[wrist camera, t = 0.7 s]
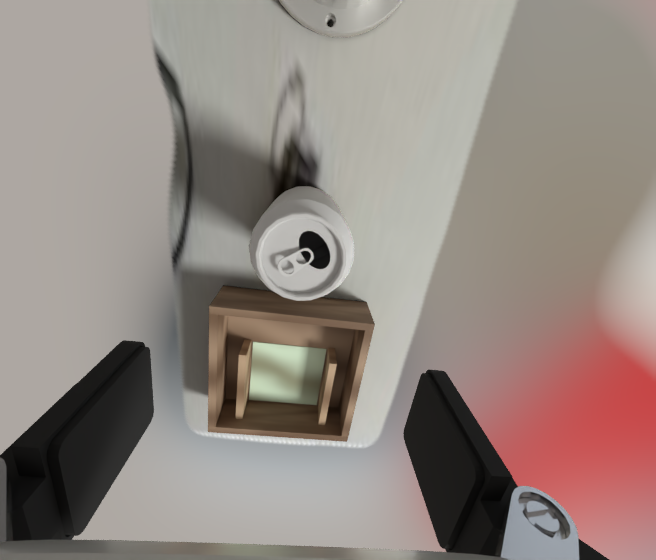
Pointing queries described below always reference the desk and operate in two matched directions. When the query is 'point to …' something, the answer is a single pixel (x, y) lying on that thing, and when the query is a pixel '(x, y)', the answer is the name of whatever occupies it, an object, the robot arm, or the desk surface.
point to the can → (302, 245)
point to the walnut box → (285, 364)
